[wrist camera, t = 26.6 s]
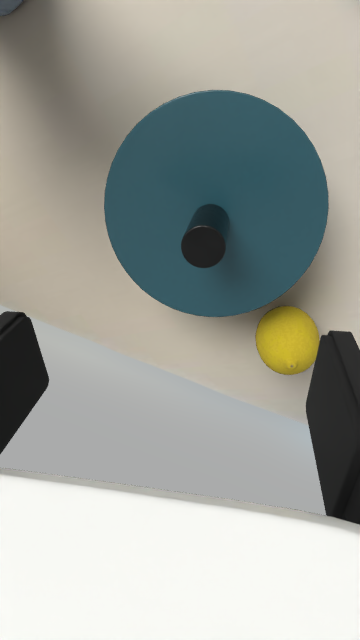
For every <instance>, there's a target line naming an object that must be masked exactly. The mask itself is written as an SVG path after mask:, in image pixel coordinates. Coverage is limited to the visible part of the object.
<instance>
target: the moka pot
mask: <svg viewBox="0 0 360 640" xmlns="http://www.w3.org/2000/svg"><path fill="white" fill-rule="evenodd" d="M22 1H23V0H0V16H4V15H7V14H10V13H11V12H12V11H13V10H14V9H15V8H17V7H18V6H19V5H20V4H21V3H22Z"/></svg>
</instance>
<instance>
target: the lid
mask: <svg viewBox="0 0 360 640" xmlns="http://www.w3.org/2000/svg"><path fill="white" fill-rule="evenodd" d="M104 210H105V221H106V226H107V231H108V235H109V238H110V241H111V244H112V247H113V249H114V251H115V254H116V256H117V258H118V260H119V261H120V263H121V265H122V266H123V268H124V269H125V271H126V272H127V273H128V275H129V276H130V277H131V278H132V280H133V281H134V282H135V283H136V284H137V285H138V286H139V287H140V288H141V289H142V290H144V291H145V292H146V293H148V294H149V295H150V296H151V297H153V298H154V299H156V300H158V301H159V302H161V303H162V304H165V305H167V306H169V307H171V308H173V309H176V310H179V311H181V312H184V313H188V314H193V315H198V316H206V317H224V316H233V315H238V314H242V313H246V312H249V311H252V310H255V309H258V308H260V307H262V306H264V305H266V304H268V303H270V302H272V301H273V300H275V299H276V298H278V297H280V296H281V295H282V294H284V293H285V292H286V291H287V290H288V289H290V288H291V287H292V286H293V285H294V284H295V283H296V282H297V281H298V280H299V279H300V278H301V277H302V275H303V274H304V272H305V271H306V270H307V268H308V267H309V266H310V264H311V262H312V261H313V259H314V257H315V255H316V254H317V251H318V249H319V247H320V244H321V242H322V239H323V236H324V232H325V228H326V224H327V216H328V188H327V182H326V176H325V173H324V170H323V166H322V163H321V160H320V158H319V156H318V154H317V152H316V150H315V148H314V146H313V144H312V143H311V141H310V140H309V138H308V137H307V135H306V134H305V132H304V131H303V130H302V129H301V128H300V127H299V126H298V125H297V124H296V122H295V121H294V120H293V119H292V118H290V117H289V116H288V115H286V114H285V113H284V112H283V111H281V110H280V109H279V108H277V107H275V106H274V105H272V104H270V103H268V102H266V101H265V100H262V99H260V98H257V97H254V96H251V95H249V94H245V93H240V92H235V91H228V90H208V91H200V92H194V93H190V94H187V95H183V96H180V97H177V98H175V99H173V100H171V101H169V102H166V103H164V104H162V105H161V106H159V107H158V108H156V109H155V110H153V111H152V112H150V113H149V114H148V115H147V116H145V117H144V118H143V119H142V120H141V121H140V122H139V123H138V124H137V125H136V126H135V127H134V128H133V129H132V130H131V132H130V133H129V134H128V135H127V136H126V138H125V140H124V141H123V143H122V144H121V146H120V147H119V149H118V151H117V153H116V155H115V158H114V160H113V162H112V164H111V168H110V171H109V174H108V177H107V183H106V189H105V201H104Z"/></svg>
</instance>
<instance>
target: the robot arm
mask: <svg viewBox="0 0 360 640" xmlns="http://www.w3.org/2000/svg"><path fill="white" fill-rule="evenodd" d="M48 383H49V377H48V374H47V370H46V367H45V364H44V361H43V357H42V354H41V351H40V348H39V345H38V341H37V338H36V335H35V332H34V328H33V325H32V322H31V319H30V318H29V317H27V316H26V315H25V313H23V312H8V311H7V312H4V313H2V314H1V315H0V454H1V452H2V451H3V450H4V448H5V447H6V446H7V444H8V442H9V441H10V440H11V438H12V437H13V436H14V434H15V433H16V431H17V430H18V428H19V427H20V426H21V424H22V423H23V421H24V420H25V418H26V417H27V416H28V414H29V413H30V411H31V410H32V408H33V407H34V406H35V404H36V403H37V401H38V400H39V398H40V397H41V396H42V394H43V393H44V391H45V390H46V388H47V386H48ZM306 414H307V419H308V424H309V429H310V434H311V439H312V444H313V449H314V454H315V460H316V465H317V469H318V475H319V480H320V485H321V490H322V495H323V500H324V505H325V510H326V515H327V516H325V515H320V514H315V513H310V512H305V511H301V510H295V509H289V508H283V507H276V506H270V505H263V504H258V503H251V502H245V501H239V500H232V499H225V498H218V497H211V496H204V495H197V494H190V493H183V492H176V491H169V490H162V489H155V488H148V487H141V486H133V485H126V484H119V483H112V482H104V481H97V480H90V479H82V478H75V477H68V476H60V475H53V474H46V473H38V472H30V471H22V470H16V469H7V468H0V640H360V350H359V348H358V345H357V343H356V341H355V339H354V337H353V335H352V333H351V332H343V331H329V333H328V335H322V336H321V338H320V343H319V347H318V351H317V356H316V360H315V365H314V369H313V374H312V378H311V383H310V387H309V392H308V396H307V401H306Z"/></svg>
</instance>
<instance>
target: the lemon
mask: <svg viewBox="0 0 360 640" xmlns="http://www.w3.org/2000/svg"><path fill="white" fill-rule="evenodd" d="M319 343H320V340H319V333H318V329H317V327H316V325H315V323H314V321H313V320H312V319H311V318H310V317H309V315H308V314H307V313H305V312H304V311H302V310H300V309H298V308H295V307H290V306H282V307H277V308H275V309H272V310H271V311H269V312H267V313H266V314H265V315H264V316H263V317H262V319H261V320H260V322H259V324H258V327H257V331H256V346H257V350H258V352H259V354H260V357H261V359H262V360H263V361H264V363H265V364H266V365H267V366H268V367H269V368H270V369H272V370H273V371H275V372H278V373H280V374H285V375H293V374H298V373H301V372H303V371H305V370H306V369H308V368H309V367H310V366H311V365H312V364H313V363H314V361H315V359H316V356H317V351H318V347H319Z"/></svg>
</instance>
